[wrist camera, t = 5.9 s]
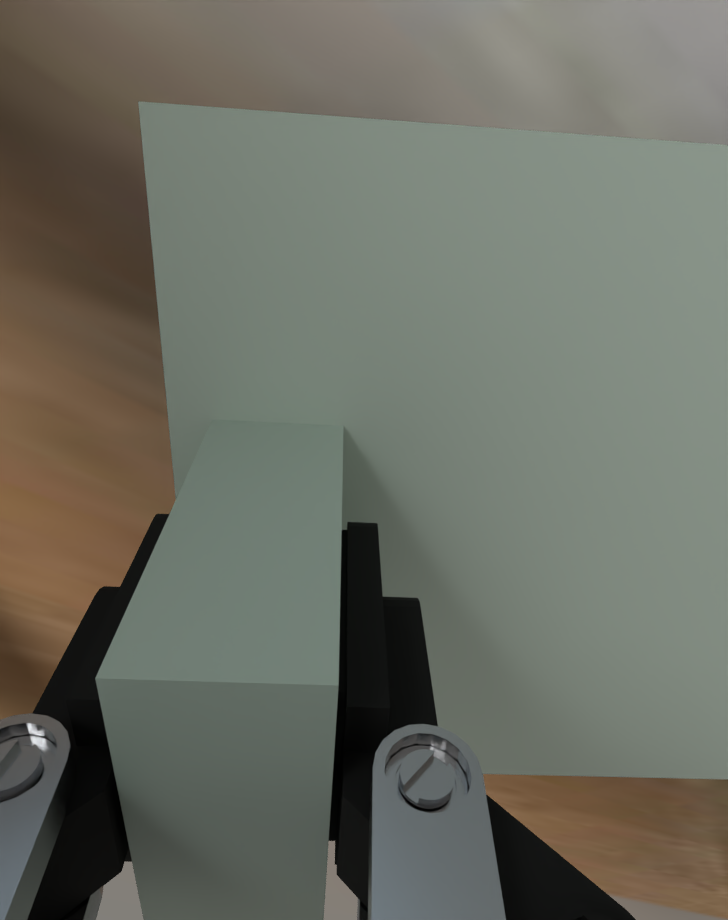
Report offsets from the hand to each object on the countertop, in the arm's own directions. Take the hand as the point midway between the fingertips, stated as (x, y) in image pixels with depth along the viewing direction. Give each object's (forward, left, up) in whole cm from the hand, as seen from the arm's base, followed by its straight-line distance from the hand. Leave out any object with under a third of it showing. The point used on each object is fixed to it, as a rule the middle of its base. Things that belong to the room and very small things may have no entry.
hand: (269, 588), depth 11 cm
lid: (0, +9, -3) cm, 10 cm away
